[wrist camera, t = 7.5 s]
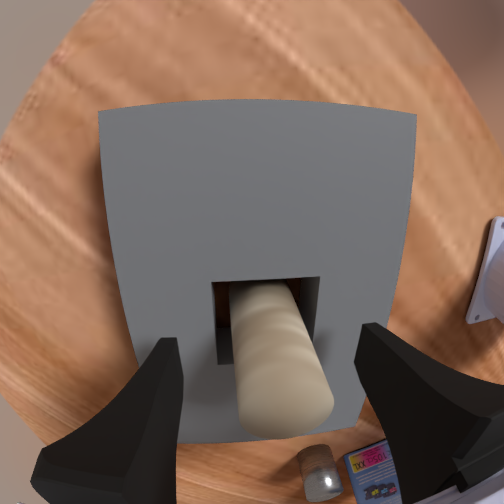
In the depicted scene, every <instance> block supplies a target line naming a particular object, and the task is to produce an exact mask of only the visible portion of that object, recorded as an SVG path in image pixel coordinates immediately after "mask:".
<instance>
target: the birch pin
mask: <svg viewBox="0 0 504 504" xmlns="http://www.w3.org/2000/svg"><path fill="white" fill-rule="evenodd" d="M229 304H230V318H231V331H232V344H233V356H234V369H235V380H236V392H237V403H238V413H239V421H240V424H241V426H242V427H243V428H244V429H245V430H246V431H247V432H248V433H250V434H252V435H254V436H256V437H260V438H264V439H287V438H292V437H296V436H300V435H303V434H305V433H307V432H310V431H311V430H313V429H315V428H316V427H318V426H319V425H321V424H322V423H323V422H324V421H325V420H326V419H327V418H328V417H329V415H330V414H331V412H332V410H333V407H334V398H333V395H332V392H331V390H330V387H329V385H328V382H327V380H326V377H325V375H324V372H323V370H322V367H321V365H320V362H319V360H318V357H317V355H316V352H315V350H314V347H313V345H312V342H311V340H310V337H309V335H308V332H307V330H306V327H305V325H304V322H303V320H302V317H301V315H300V313H299V310H298V308H297V305H296V303H295V300H294V298H293V296H292V293H291V291H290V288H289V286H288V283H287V281H286V279H285V278H282V279H263V280H243V281H230V284H229Z"/></svg>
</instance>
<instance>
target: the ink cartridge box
mask: <svg viewBox="0 0 504 504" xmlns="http://www.w3.org/2000/svg"><path fill="white" fill-rule="evenodd" d="M344 460H345V464H346V467H347V471H348V474H349V478H350V481H351V484H352V488H353V491H354V495H355V498H356V501H357V504H402V500H401V494H400V488H399V483H398V478H397V474H396V470H395V466H394V462H393V458H392V455H391V451H390V448H389V445H388V442H387V439H386V440H383V441H381V442H379V443H376V444H374V445H371V446H369V447H366V448H363V449H360V450H358V451H355V452H352V453H349V454H346V455H344Z"/></svg>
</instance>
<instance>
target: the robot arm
mask: <svg viewBox="0 0 504 504" xmlns="http://www.w3.org/2000/svg"><path fill="white" fill-rule="evenodd" d="M492 318H497V319H499V320H500V321H501V322H502V323H503V324H504V217H499V216H497V217H495V218H494V219H493V220H492V223H491V228H490V232H489V237H488V242H487V246H486V250H485V254H484V258H483V262H482V266H481V270H480V274H479V277H478V281H477V284H476V287H475V291H474V294H473V297H472V300H471V303H470V306H469V309H468V312H467V315H466V319H465V320H466V322H467V323H468V324H473V323H477V322H481V321H485V320H488V319H492ZM354 365H355V368H356V371H357V374H358V377H359V380H360V383H361V385H362V387H363V389H364V391H365V393H366V395H367V397H368V399H369V401H370V403H371V405H372V407H373V409H374V411H375V413H376V415H377V417H378V419H379V421H380V423H381V426H382V428H383V430H384V433H385V436H386V439H387V442H388V445H389V448H390V451H391V455H392V458H393V462H394V466H395V470H396V474H397V478H398V483H399V488H400V494H401V500H402V504H504V385H500V384H495V383H491V382H487V381H484V380H480V379H477V378H474V377H471V376H469V375H466V374H463V373H461V372H458V371H456V370H454V369H452V368H449V367H447V366H445V365H443V364H441V363H439V362H437V361H436V360H434V359H432V358H430V357H429V356H427V355H425V354H424V353H422V352H420V351H419V350H417V349H416V348H414V347H412V346H411V345H409V344H408V343H406V342H405V341H403V340H402V339H401V338H399V337H398V336H396V335H395V334H393V333H392V332H390V331H389V330H387V329H386V328H384V327H383V326H381V325H380V324H378V323H376V322H373V323H365V324H362V328H361V332H360V337H359V341H358V346H357V350H356V354H355V358H354ZM183 390H184V375H183V369H182V364H181V359H180V353H179V347H178V342H177V337H161V338H160V339H159V340H158V342H157V343H156V345H155V346H154V348H153V349H152V351H151V352H150V354H149V355H148V357H147V358H146V360H145V361H144V363H143V364H142V365H141V367H140V368H139V369H138V371H137V372H136V373H135V375H134V376H133V377H132V378H131V380H130V381H129V382H128V383H127V384H126V386H125V387H124V388H123V389H122V390H121V391H120V392H119V394H118V395H117V396H116V397H115V398H114V399H113V400H112V401H111V402H110V403H109V404H108V405H107V406H106V407H105V408H103V409H102V410H101V411H100V412H99V413H98V414H96V415H95V416H94V417H93V418H92V419H90V420H89V421H88V422H87V423H85V424H84V425H82V426H81V427H79V428H78V429H77V430H75V431H73V432H72V433H70V434H69V435H67V436H65V437H64V438H62V439H60V440H58V441H56V442H54V443H52V444H50V445H49V446H47V447H45V448H42V450H41V452H40V454H39V456H38V459H37V462H36V465H35V468H34V471H33V474H32V477H31V481H30V482H31V485H32V487H33V488H34V489H35V490H36V492H38V493H39V494H40V495H41V496H42V497H43V498H44V499H45V500H46V501H47V502H49V503H50V504H177V502H176V448H177V439H178V432H179V425H180V418H181V411H182V404H183ZM17 504H24V503H21V502H17Z"/></svg>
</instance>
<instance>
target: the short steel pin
mask: <svg viewBox="0 0 504 504" xmlns="http://www.w3.org/2000/svg"><path fill="white" fill-rule="evenodd" d="M297 460H298V464H299V469H300V473H301V477H302V481H303V485H304V490H305V494H306V498H307V501H309V502H321V501H326V500H329V499H332V498H334V497H336V496H338V495H340V494H341V493H342V492H343V490H344V489H343V486H342V483H341V480H340V477H339V474H338V471H337V468H336V464H335V461H334V458H333V455H332V452H331V449H330V447H329V446H328V445H323V444H319V445H313V446H310V447H307V448H305V449H303V450H301V451H300V452H299V453H298V454H297Z"/></svg>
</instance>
